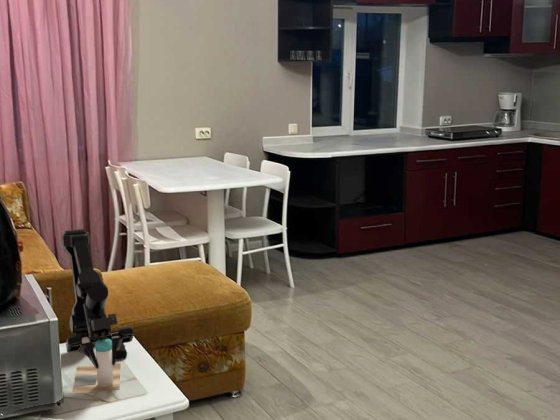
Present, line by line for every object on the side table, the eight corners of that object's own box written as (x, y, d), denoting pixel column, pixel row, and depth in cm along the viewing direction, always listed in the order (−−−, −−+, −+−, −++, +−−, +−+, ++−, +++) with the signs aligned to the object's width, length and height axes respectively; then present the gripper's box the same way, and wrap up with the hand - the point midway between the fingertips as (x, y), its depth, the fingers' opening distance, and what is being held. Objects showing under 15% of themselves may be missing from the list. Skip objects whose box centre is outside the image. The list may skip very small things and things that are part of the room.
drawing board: (77, 367, 208) (77, 365, 208) (120, 364, 210) (120, 362, 210) (71, 395, 191) (71, 393, 190) (119, 391, 193) (119, 389, 193)
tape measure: (127, 360, 214) (127, 349, 213) (105, 363, 212) (104, 352, 211) (125, 352, 220) (125, 341, 219) (103, 354, 218) (103, 343, 217)
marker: (101, 379, 199) (99, 338, 196) (116, 381, 198) (114, 339, 195) (94, 386, 194) (92, 344, 191) (109, 388, 193) (107, 345, 191)
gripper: (65, 309, 190) (74, 362, 183) (131, 300, 198) (142, 350, 191) (62, 326, 199) (70, 376, 192) (126, 316, 207) (136, 364, 200)
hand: (105, 366), depth 193 cm, fingers closed on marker, 4 cm apart
